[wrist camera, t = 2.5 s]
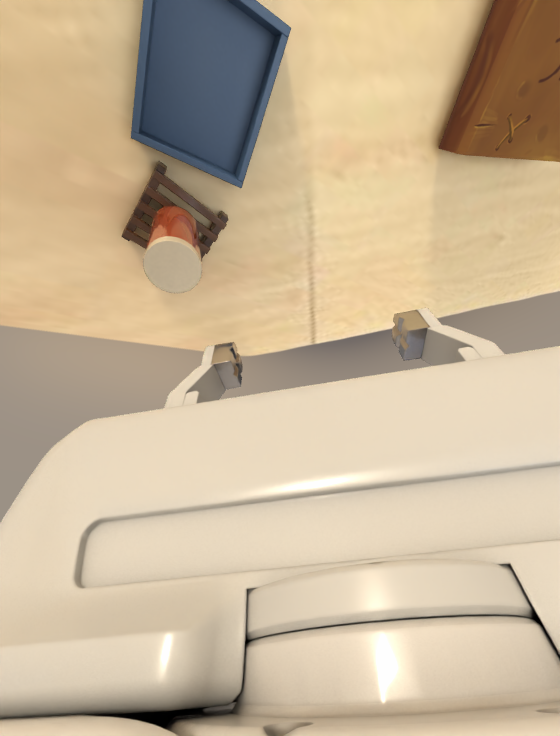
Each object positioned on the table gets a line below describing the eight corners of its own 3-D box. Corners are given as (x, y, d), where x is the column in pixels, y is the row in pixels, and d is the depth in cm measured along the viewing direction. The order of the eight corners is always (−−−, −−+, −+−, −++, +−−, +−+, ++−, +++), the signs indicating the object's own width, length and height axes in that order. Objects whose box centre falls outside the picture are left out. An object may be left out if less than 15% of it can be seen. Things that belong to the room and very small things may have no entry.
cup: (184, 259, 41) (184, 302, 34) (144, 234, 38) (133, 274, 30) (207, 225, 39) (212, 262, 31) (165, 194, 35) (159, 227, 28)
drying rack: (189, 271, 45) (189, 279, 44) (123, 231, 39) (120, 238, 38) (227, 215, 41) (229, 221, 39) (159, 160, 35) (158, 164, 33)
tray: (237, 180, 38) (241, 188, 36) (135, 133, 33) (130, 138, 30) (282, 32, 30) (291, 27, 27) (154, -66, 24) (151, -83, 22)
